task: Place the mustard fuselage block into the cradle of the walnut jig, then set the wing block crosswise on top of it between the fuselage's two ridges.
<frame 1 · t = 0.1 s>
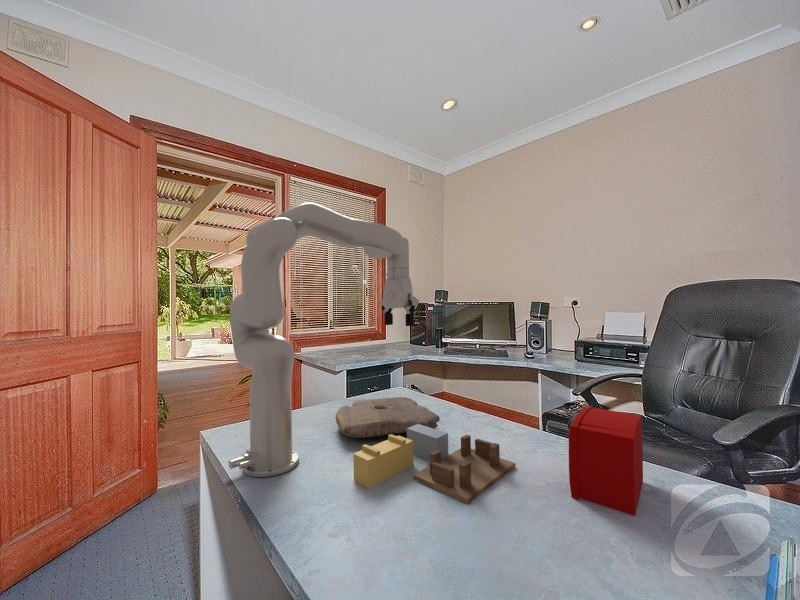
hand: (399, 325, 117), 31 cm above the table, tool pointing down, fingers open, 9 cm apart
wing: (427, 454, 89), on the table
fire alarm: (607, 489, 71), on the table
stone slab: (381, 426, 110), on the table
fuselage: (384, 473, 80), on the table
jig: (465, 473, 78), on the table
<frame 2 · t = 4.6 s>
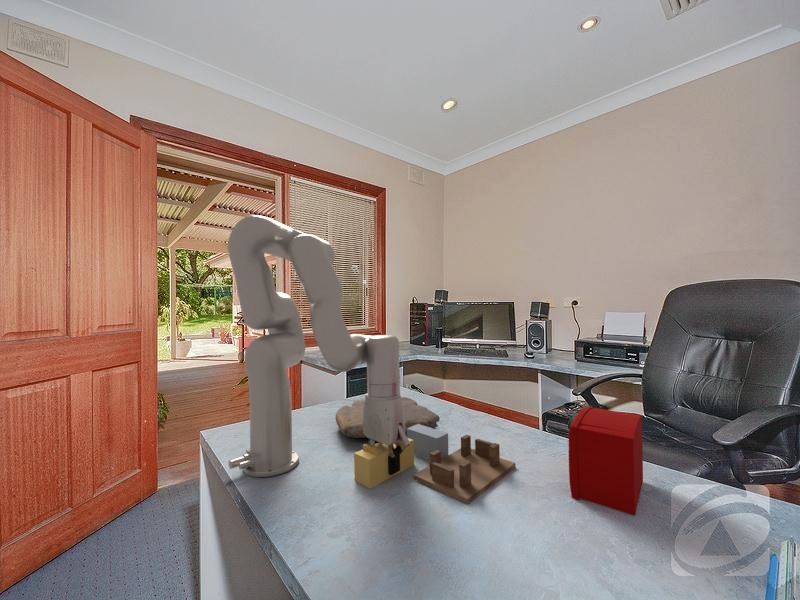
hand: (385, 467, 80), 1 cm above the table, tool pointing down, fingers closed on fuselage, 5 cm apart
fuselage: (385, 472, 80), on the table, touching gripper
everything else where it was.
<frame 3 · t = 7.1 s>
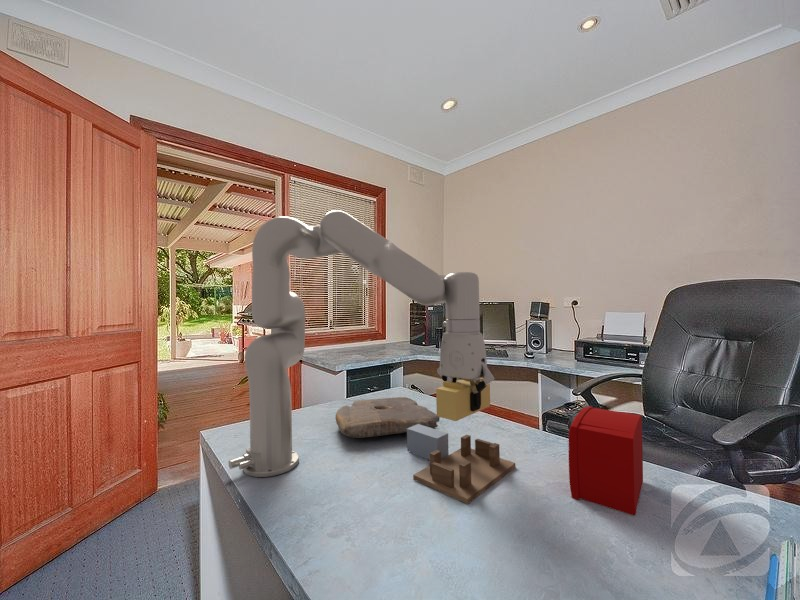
hand: (464, 406, 79), 15 cm above the table, tool pointing down, fingers closed on fuselage, 5 cm apart
fuselage: (464, 410, 79), point 14 cm above the table, touching gripper
everything else where it was.
when the fingers open (3 cm above the table, at t = 9.6 s): fuselage drops 1 cm, resting on jig.
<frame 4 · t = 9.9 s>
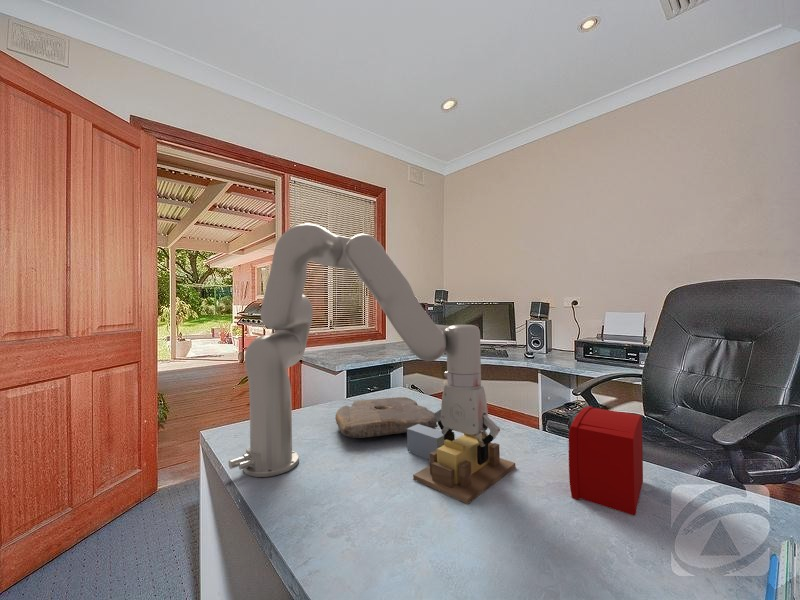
hand: (465, 456, 79), 4 cm above the table, tool pointing down, fingers open, 8 cm apart
fuselage: (465, 468, 79), point 1 cm above the table, touching jig
everything else where it was.
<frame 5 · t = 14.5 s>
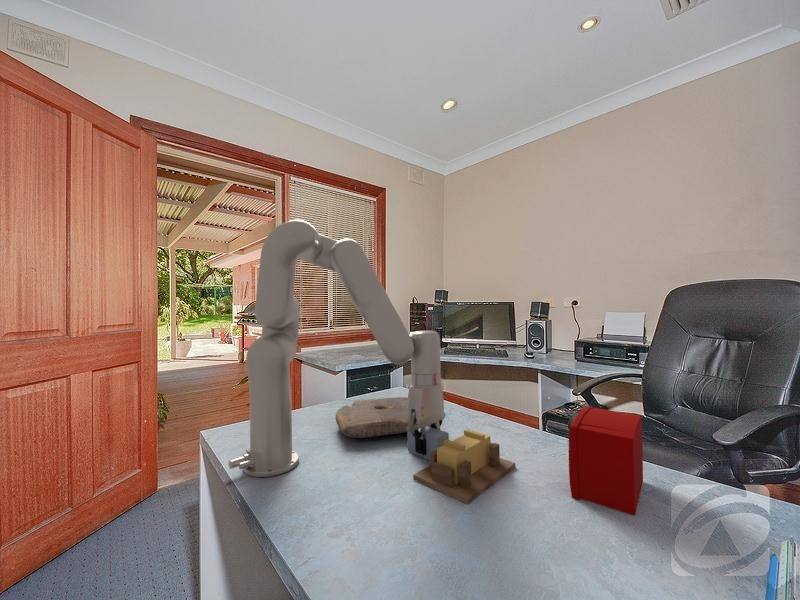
hand: (427, 449, 89), 1 cm above the table, tool pointing down, fingers closed on wing, 4 cm apart
wing: (427, 453, 89), on the table, touching gripper
everything else where it was.
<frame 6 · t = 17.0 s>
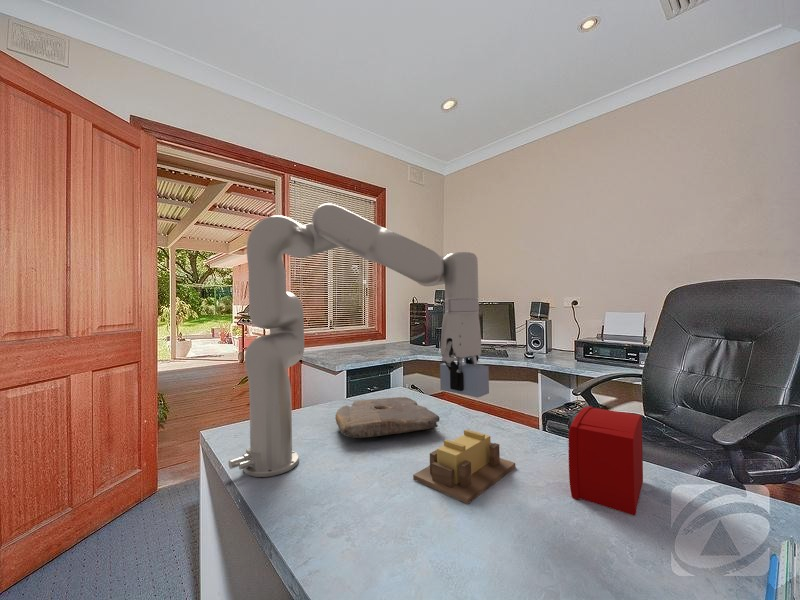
hand: (463, 386, 79), 19 cm above the table, tool pointing down, fingers closed on wing, 4 cm apart
wing: (464, 391, 79), point 18 cm above the table, touching gripper
everything else where it was.
when the fingers open (10 cm above the table, at t = 19.6 s): wing drops 2 cm, resting on fuselage.
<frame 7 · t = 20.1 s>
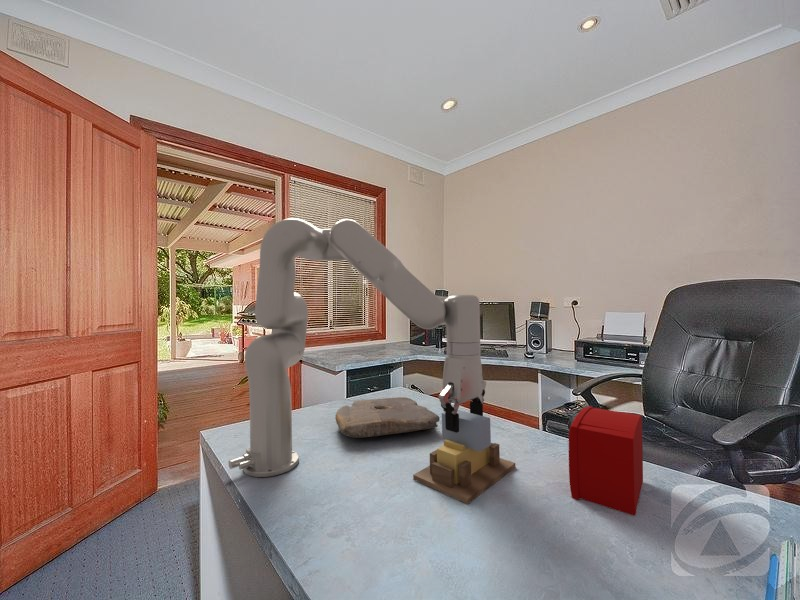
hand: (464, 424, 79), 11 cm above the table, tool pointing down, fingers open, 9 cm apart
wing: (465, 442, 79), point 7 cm above the table, touching fuselage
fuselage: (465, 468, 79), point 1 cm above the table, touching jig, wing
everything else where it was.
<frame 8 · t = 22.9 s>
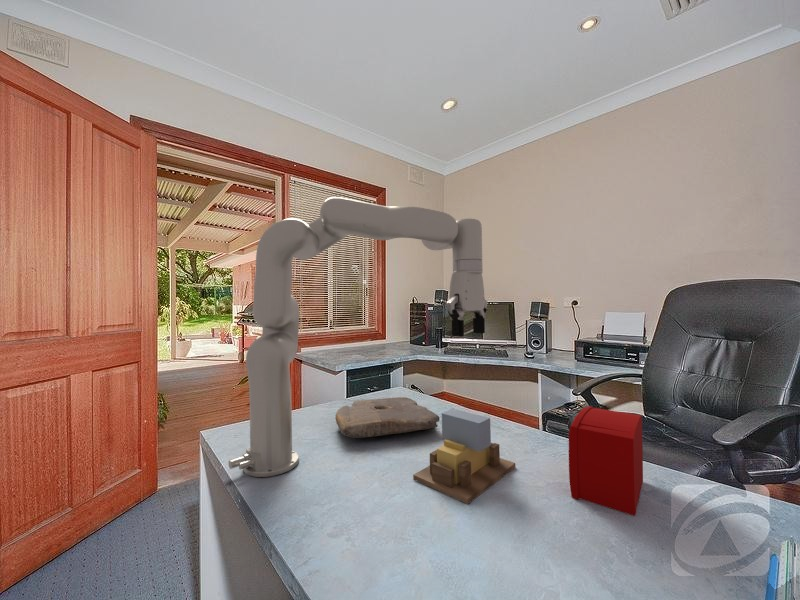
hand: (468, 334, 89), 30 cm above the table, tool pointing down, fingers open, 9 cm apart
nothing on the table moved.
at the end: fuselage 0.1 cm off-centre on the jig, point 1.0 cm above the jig's base; wing 0.3 cm off-centre on the fuselage, point 6.0 cm above the fuselage's base; wing tilted 0° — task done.
